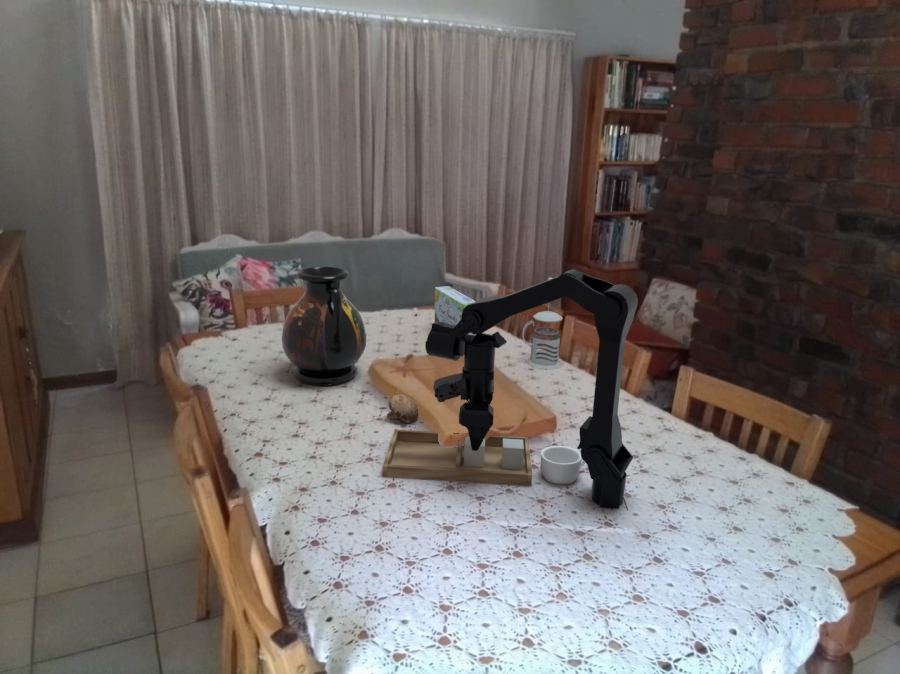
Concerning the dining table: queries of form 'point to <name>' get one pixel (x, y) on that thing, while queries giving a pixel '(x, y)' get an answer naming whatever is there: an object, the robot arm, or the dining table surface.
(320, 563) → the dining table surface
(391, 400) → the mushroom
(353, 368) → the amphora vase
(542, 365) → the french press
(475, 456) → the grey cube
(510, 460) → the light grey cube
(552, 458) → the teacup
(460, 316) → the snack box
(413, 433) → the divided tray
